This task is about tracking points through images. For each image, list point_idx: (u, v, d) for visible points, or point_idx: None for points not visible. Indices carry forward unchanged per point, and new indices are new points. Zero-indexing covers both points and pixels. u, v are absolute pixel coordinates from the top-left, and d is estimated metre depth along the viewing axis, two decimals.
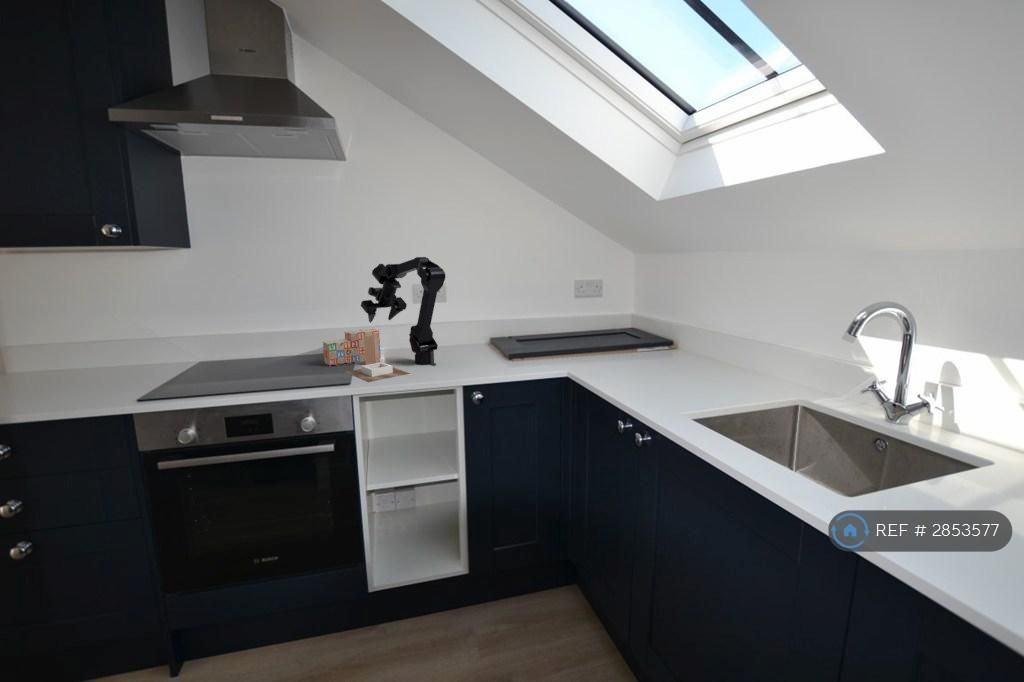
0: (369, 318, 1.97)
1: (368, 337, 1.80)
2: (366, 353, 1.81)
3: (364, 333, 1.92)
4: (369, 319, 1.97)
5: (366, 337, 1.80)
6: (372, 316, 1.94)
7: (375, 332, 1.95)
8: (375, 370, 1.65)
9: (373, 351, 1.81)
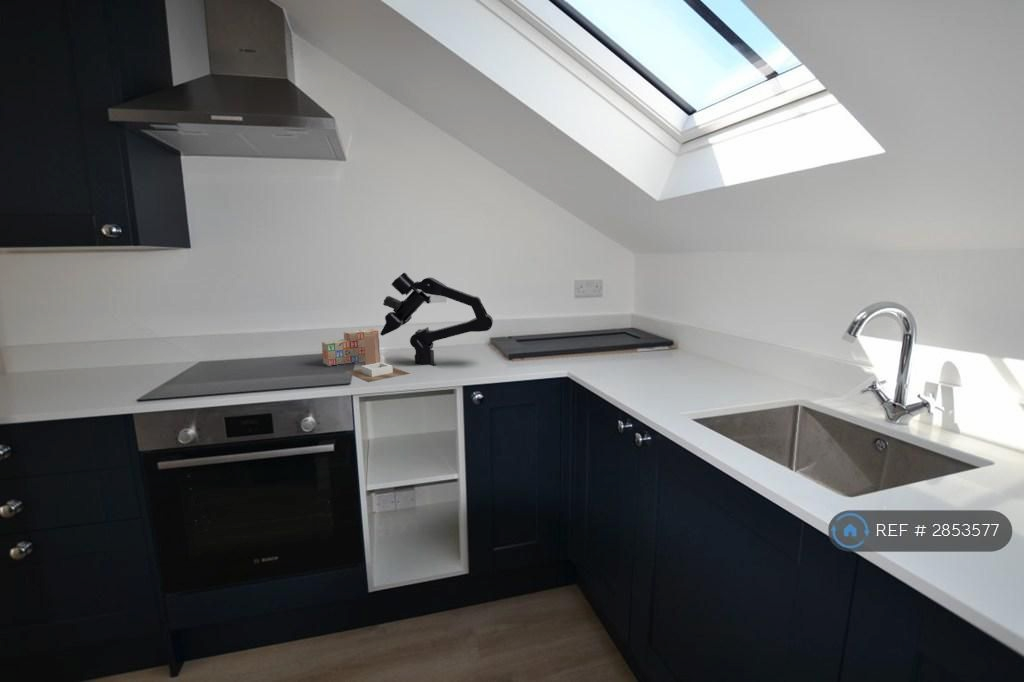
0: (384, 331, 1.76)
1: (368, 337, 1.80)
2: (366, 353, 1.81)
3: (363, 333, 1.92)
4: (383, 332, 1.76)
5: (366, 337, 1.80)
6: (393, 330, 1.75)
7: (374, 332, 1.95)
8: (375, 370, 1.65)
9: (373, 351, 1.81)
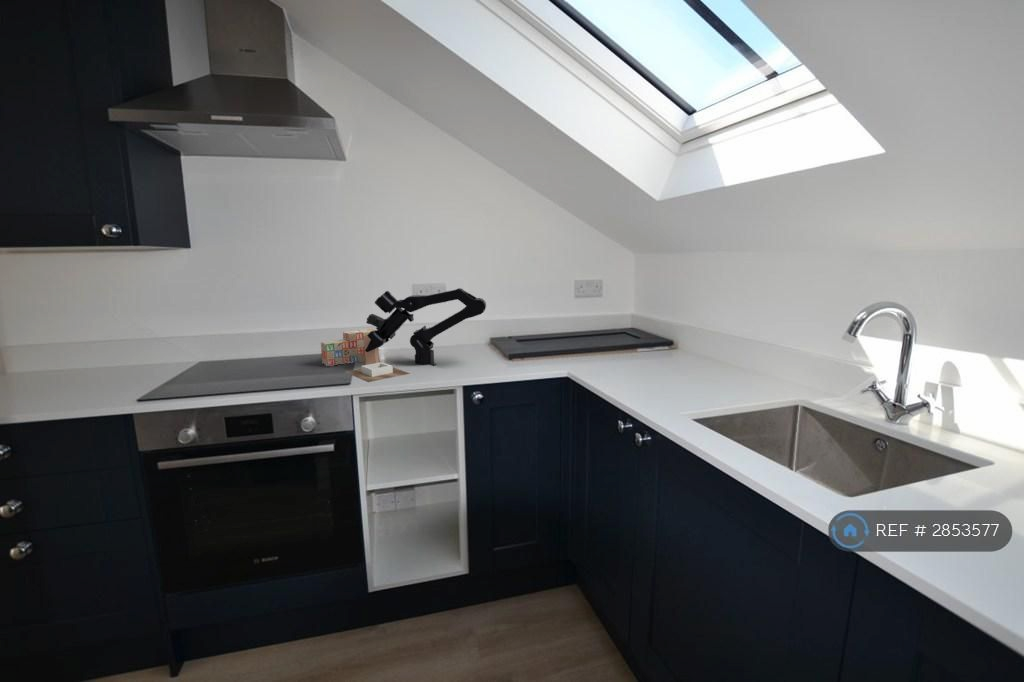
0: (369, 348, 1.79)
1: (368, 337, 1.80)
2: (366, 353, 1.81)
3: (362, 333, 1.91)
4: (368, 349, 1.80)
5: (366, 337, 1.80)
6: None
7: None
8: (375, 370, 1.65)
9: (373, 351, 1.81)
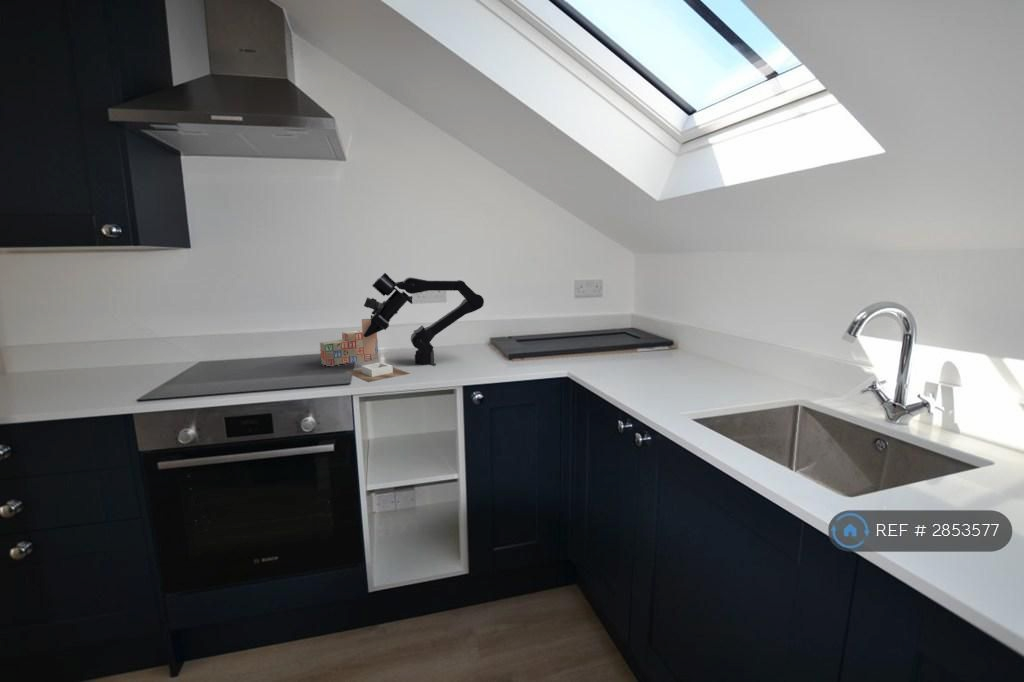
0: (368, 332, 1.72)
1: (366, 321, 1.72)
2: (364, 338, 1.73)
3: (361, 333, 1.91)
4: (367, 333, 1.72)
5: (364, 321, 1.72)
6: (378, 331, 1.73)
7: None
8: (375, 370, 1.65)
9: (372, 336, 1.74)
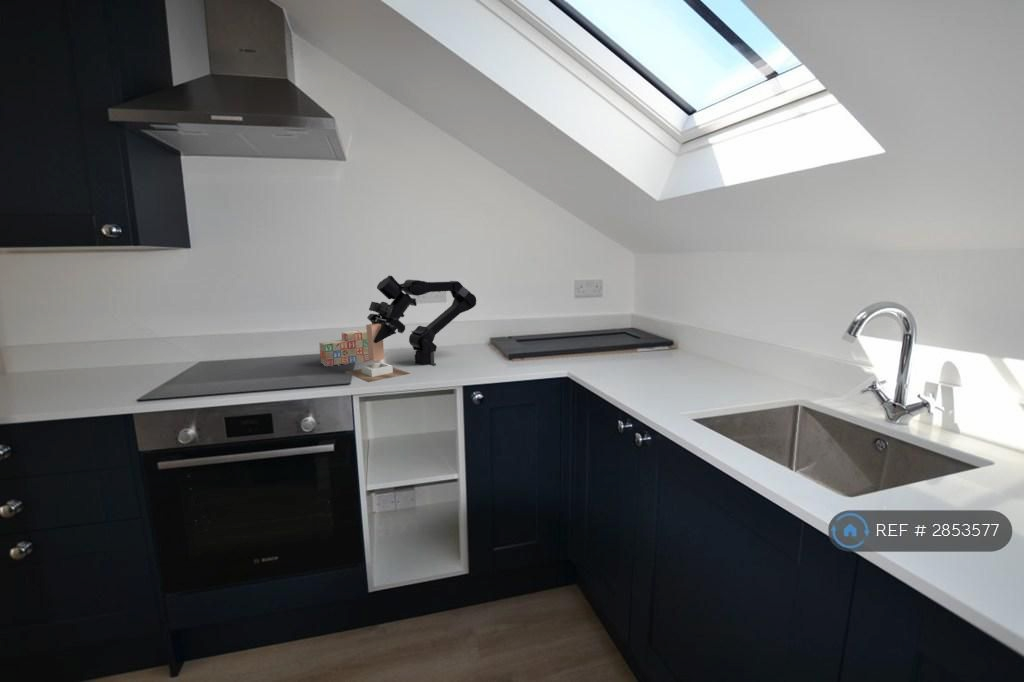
0: (379, 338, 1.66)
1: (375, 326, 1.65)
2: (374, 344, 1.66)
3: (361, 334, 1.91)
4: (378, 339, 1.66)
5: (374, 326, 1.65)
6: None
7: None
8: (375, 370, 1.65)
9: (381, 341, 1.67)
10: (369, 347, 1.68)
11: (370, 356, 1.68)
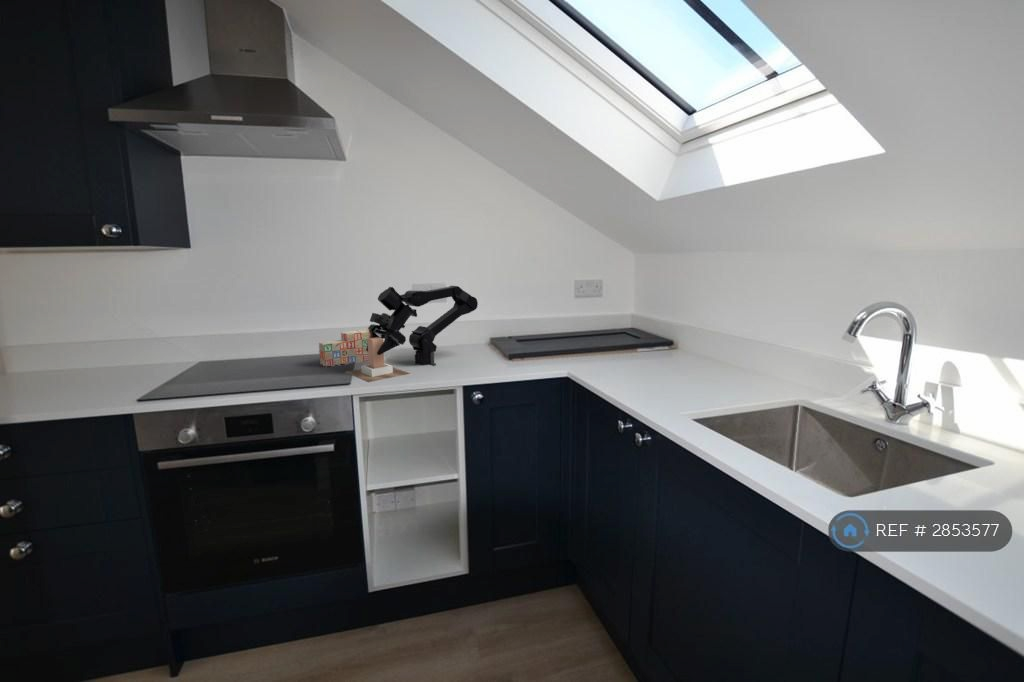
0: (382, 350, 1.65)
1: (376, 340, 1.66)
2: (375, 358, 1.67)
3: (360, 334, 1.91)
4: (381, 351, 1.65)
5: (375, 340, 1.66)
6: None
7: None
8: (375, 370, 1.65)
9: (382, 355, 1.68)
10: (370, 361, 1.69)
11: None
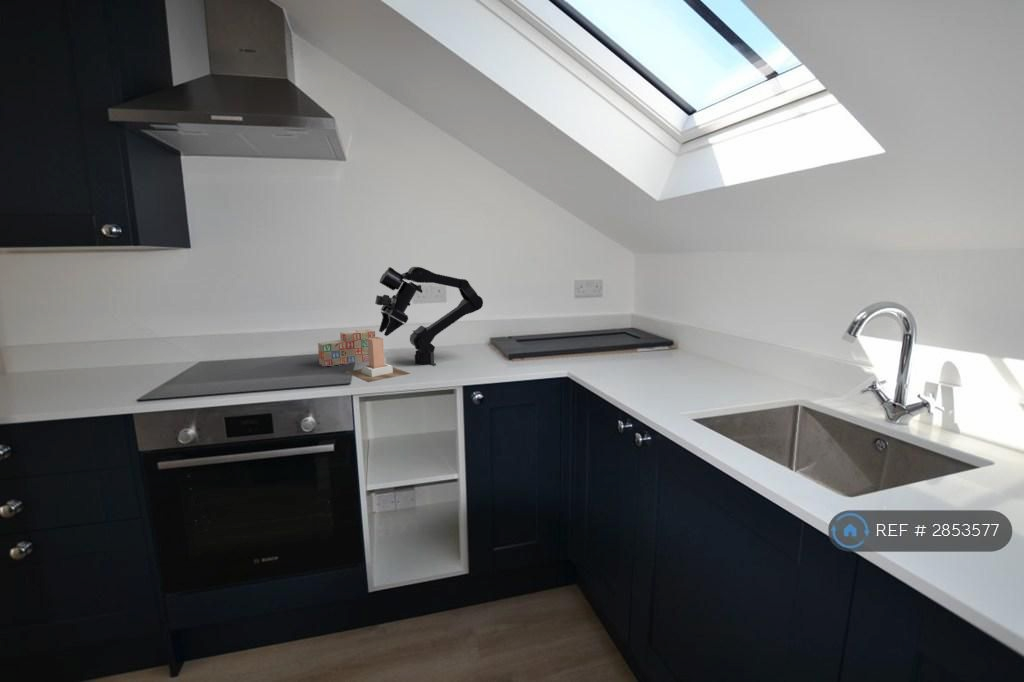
0: (389, 330, 1.70)
1: (376, 340, 1.66)
2: (375, 358, 1.67)
3: (360, 334, 1.90)
4: (388, 332, 1.70)
5: (375, 340, 1.66)
6: None
7: (371, 333, 1.93)
8: (375, 370, 1.65)
9: (382, 355, 1.68)
10: (370, 361, 1.69)
11: None
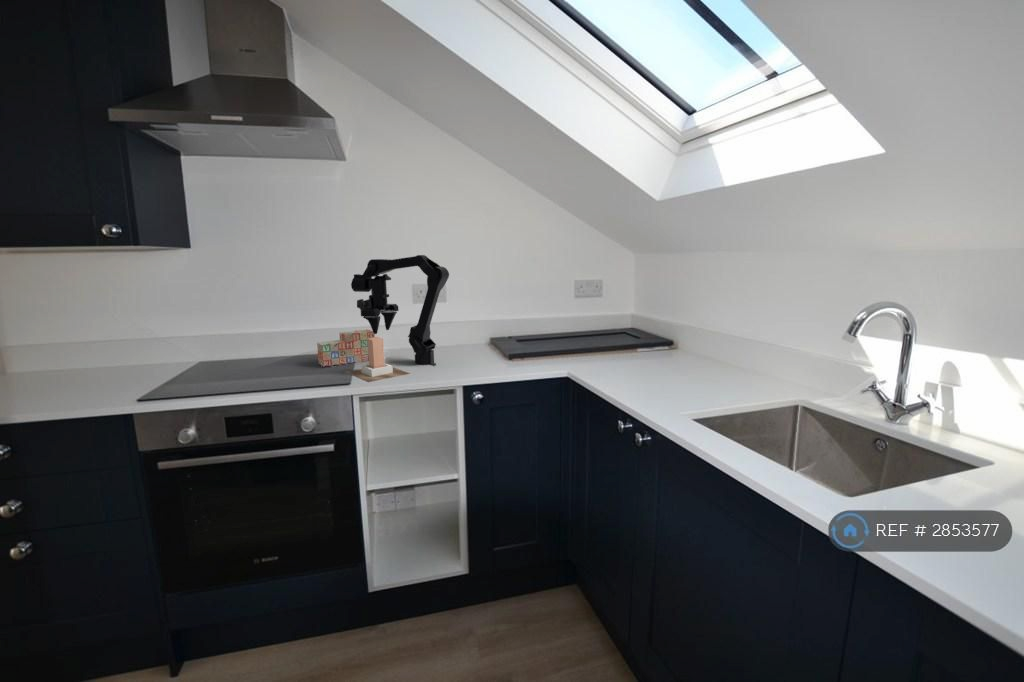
0: (374, 328, 1.80)
1: (376, 340, 1.66)
2: (375, 358, 1.67)
3: (359, 334, 1.90)
4: (374, 330, 1.80)
5: (375, 340, 1.66)
6: (378, 321, 1.79)
7: (370, 333, 1.93)
8: (375, 370, 1.65)
9: (382, 355, 1.68)
10: (370, 361, 1.69)
11: None
